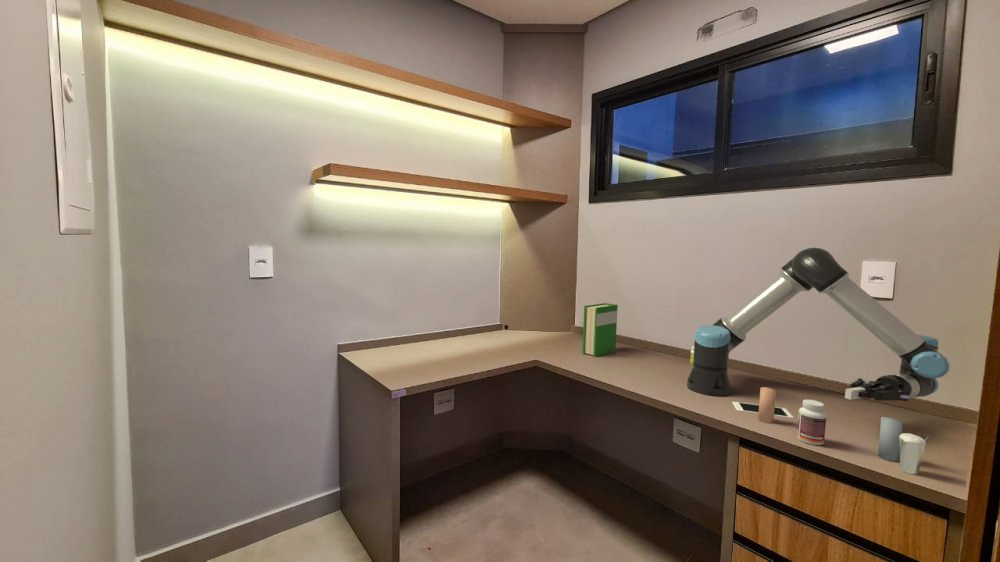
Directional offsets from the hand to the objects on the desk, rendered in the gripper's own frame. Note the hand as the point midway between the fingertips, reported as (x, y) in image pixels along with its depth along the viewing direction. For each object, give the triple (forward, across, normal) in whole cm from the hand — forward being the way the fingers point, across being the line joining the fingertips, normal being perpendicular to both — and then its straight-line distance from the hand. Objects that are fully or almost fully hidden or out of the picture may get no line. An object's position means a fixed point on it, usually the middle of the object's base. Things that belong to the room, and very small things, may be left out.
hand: (848, 394), depth 118 cm
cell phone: (+7, +20, -13) cm, 25 cm away
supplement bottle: (-13, +67, -13) cm, 70 cm away
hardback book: (+18, +98, -14) cm, 100 cm away
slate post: (+5, -13, -12) cm, 18 cm away
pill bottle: (+14, 0, -12) cm, 19 cm away
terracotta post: (+14, +14, -12) cm, 23 cm away
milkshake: (+7, -19, -12) cm, 23 cm away
